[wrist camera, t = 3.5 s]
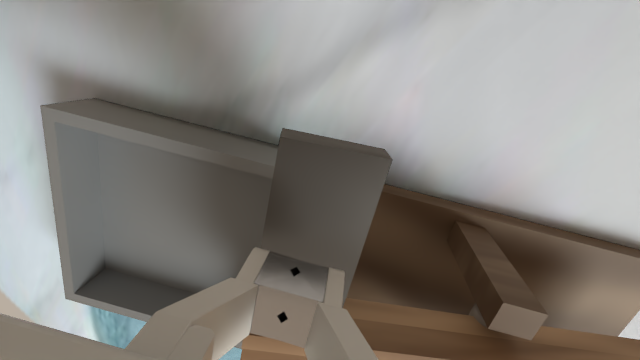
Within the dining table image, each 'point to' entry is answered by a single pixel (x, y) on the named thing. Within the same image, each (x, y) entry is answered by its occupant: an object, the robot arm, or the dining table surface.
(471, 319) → the lever
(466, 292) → the lever stand
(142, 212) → the tray
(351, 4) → the dining table surface
